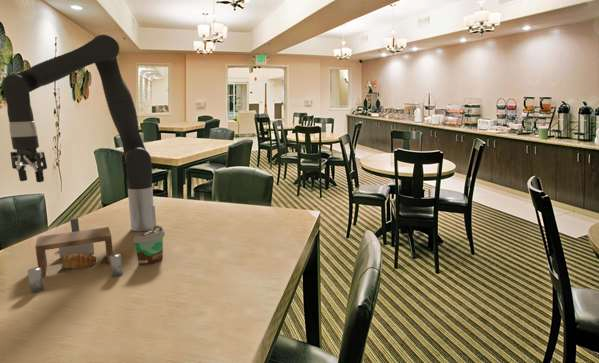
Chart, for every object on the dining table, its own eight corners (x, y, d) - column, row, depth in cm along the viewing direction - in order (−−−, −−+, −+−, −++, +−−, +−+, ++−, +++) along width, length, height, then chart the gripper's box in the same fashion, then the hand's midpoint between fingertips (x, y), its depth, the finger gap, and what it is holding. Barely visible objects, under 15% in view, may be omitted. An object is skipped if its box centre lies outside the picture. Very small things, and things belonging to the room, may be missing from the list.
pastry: (98, 259, 131) (97, 248, 130) (94, 267, 124) (93, 256, 124) (66, 262, 128) (65, 251, 127) (60, 271, 122) (59, 259, 121)
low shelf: (111, 253, 135) (108, 227, 133) (114, 263, 127) (111, 235, 125) (41, 265, 126) (37, 236, 124) (39, 277, 117) (35, 246, 115)
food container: (153, 268, 123) (151, 237, 121) (135, 267, 124) (132, 236, 122) (173, 254, 135) (171, 225, 133) (157, 252, 136) (154, 224, 134)
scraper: (91, 238, 151) (89, 215, 150) (94, 253, 136) (91, 228, 134) (61, 242, 147) (58, 219, 145) (60, 259, 131) (57, 233, 129)
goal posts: (121, 271, 121) (120, 253, 119) (123, 275, 118) (121, 256, 117) (31, 289, 110) (28, 268, 108) (30, 293, 107) (27, 272, 106)
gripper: (48, 134, 137) (56, 180, 140) (20, 133, 142) (28, 178, 145) (27, 136, 130) (35, 184, 133) (-2, 135, 135) (7, 182, 139)
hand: (31, 181), depth 139 cm, fingers open, 8 cm apart
